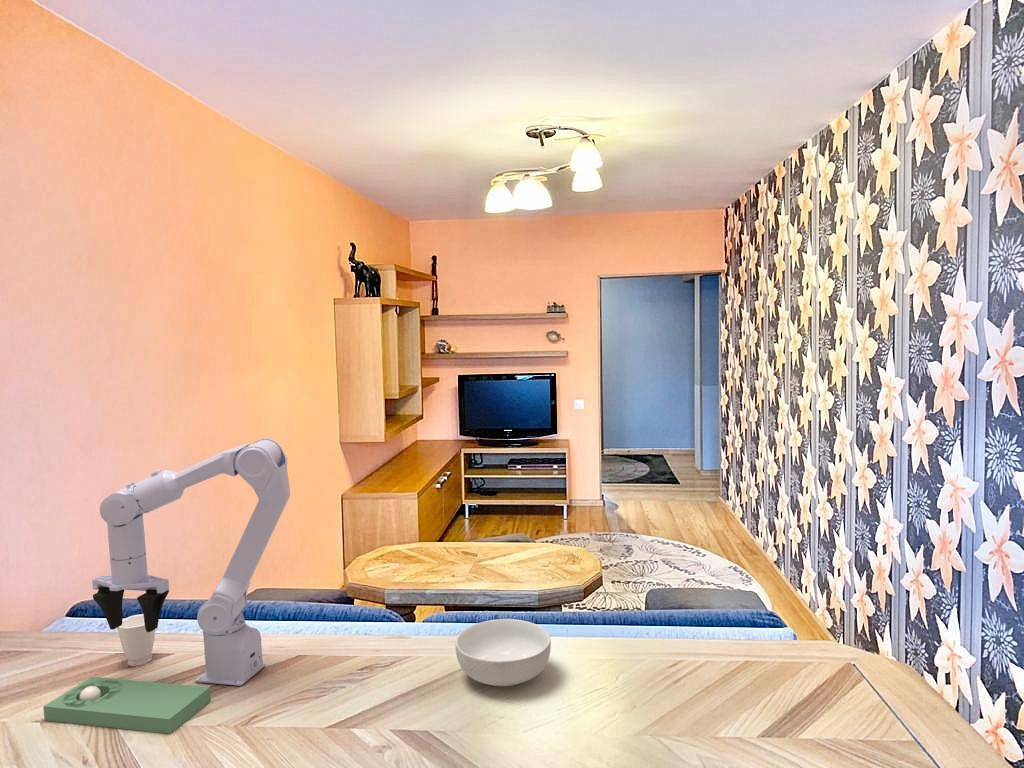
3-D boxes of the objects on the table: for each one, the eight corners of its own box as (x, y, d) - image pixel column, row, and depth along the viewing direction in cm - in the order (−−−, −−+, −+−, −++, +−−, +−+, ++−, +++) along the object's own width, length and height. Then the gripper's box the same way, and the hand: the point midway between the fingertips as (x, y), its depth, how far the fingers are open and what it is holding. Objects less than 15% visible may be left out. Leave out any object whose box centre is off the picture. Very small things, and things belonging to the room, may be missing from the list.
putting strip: (210, 700, 120) (209, 687, 120) (170, 733, 110) (169, 719, 110) (93, 689, 125) (91, 676, 125) (44, 720, 116) (43, 706, 115)
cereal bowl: (440, 691, 120) (438, 651, 120) (480, 649, 136) (478, 614, 135) (532, 708, 114) (531, 666, 114) (563, 662, 129) (562, 625, 129)
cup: (125, 673, 131) (121, 631, 131) (110, 656, 138) (107, 616, 138) (165, 660, 136) (162, 619, 135) (149, 644, 143) (146, 606, 143)
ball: (101, 703, 121) (108, 689, 120) (86, 713, 118) (93, 698, 117) (87, 693, 121) (93, 679, 121) (72, 703, 118) (78, 688, 118)
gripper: (76, 561, 124) (82, 635, 125) (146, 564, 121) (152, 640, 122) (107, 548, 131) (113, 619, 132) (174, 551, 127) (180, 623, 128)
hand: (134, 628), depth 127 cm, fingers open, 7 cm apart
